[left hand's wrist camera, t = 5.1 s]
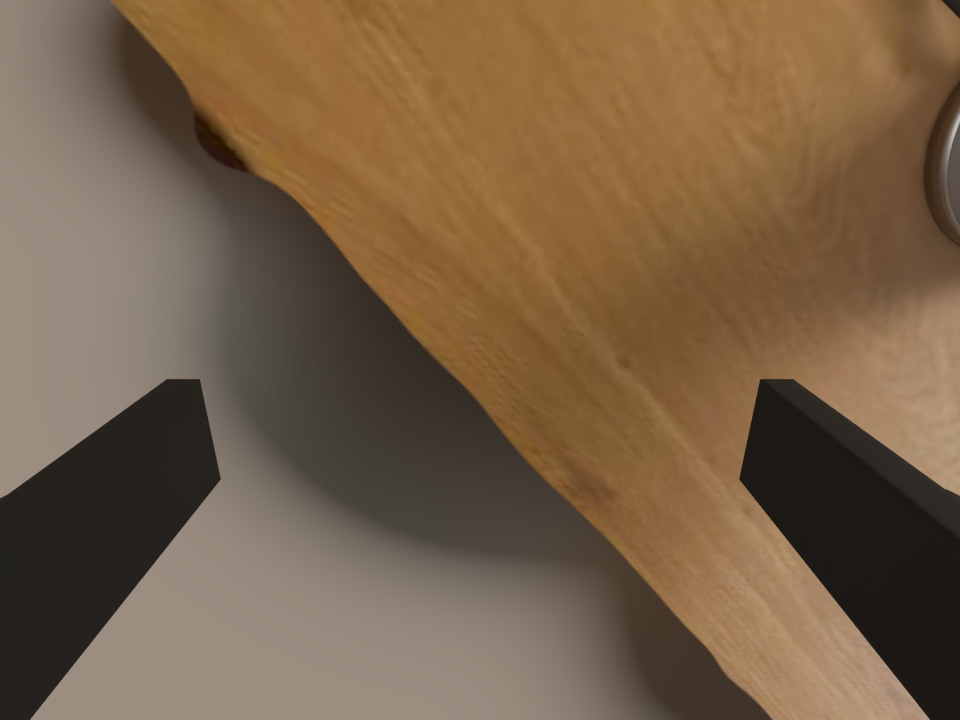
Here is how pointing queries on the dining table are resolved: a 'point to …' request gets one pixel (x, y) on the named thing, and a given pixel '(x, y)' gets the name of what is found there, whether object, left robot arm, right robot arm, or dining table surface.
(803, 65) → the dining table surface
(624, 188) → the dining table surface
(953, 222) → the left robot arm
